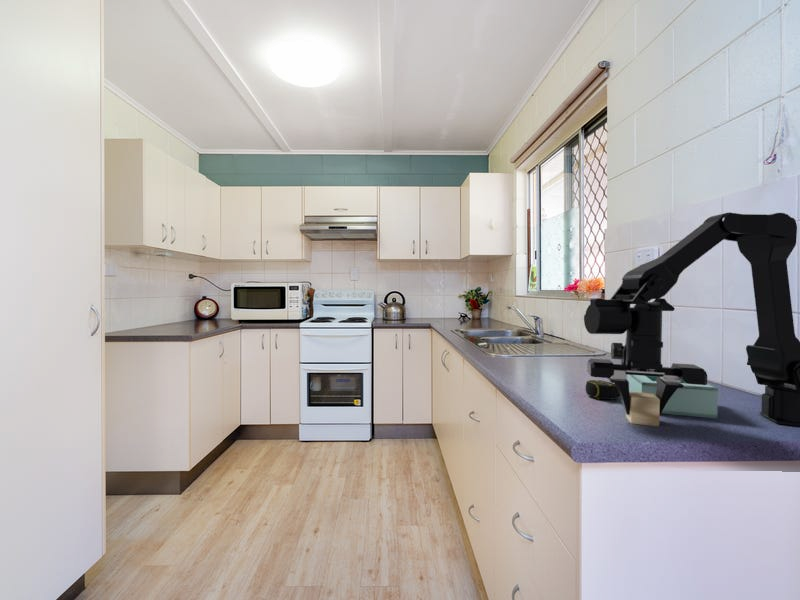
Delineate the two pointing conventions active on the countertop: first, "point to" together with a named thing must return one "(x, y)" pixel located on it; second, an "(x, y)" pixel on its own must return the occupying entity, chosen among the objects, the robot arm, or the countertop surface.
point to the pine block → (644, 409)
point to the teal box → (681, 397)
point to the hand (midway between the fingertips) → (641, 415)
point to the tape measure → (602, 389)
